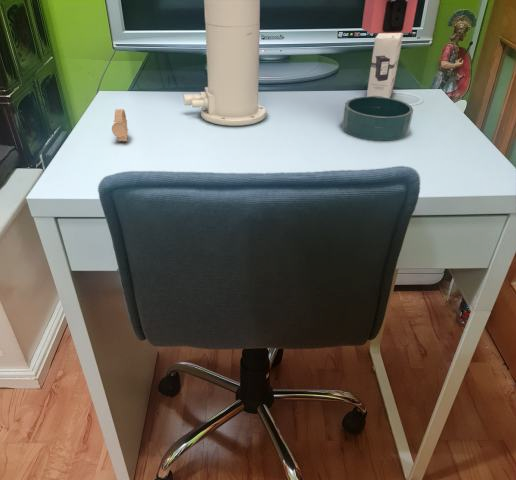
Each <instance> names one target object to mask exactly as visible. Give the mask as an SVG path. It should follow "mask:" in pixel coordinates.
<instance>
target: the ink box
mask: <svg viewBox="0 0 516 480" xmlns="http://www.w3.org/2000/svg"><path fill="white" fill-rule="evenodd" d="M403 37H404V33H377V35H375V37H374V42H373V49H372V56H371V61H370V62H371V63H370V70H369V76H368V84H367V91H366V97H368V96H373V97H385V98H391V96H392V94H393V91H394V86H395V81H396V75H397V70H398V64H399V59H400V54H401V49H402V43H403Z"/></svg>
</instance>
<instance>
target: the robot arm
mask: <svg viewBox="0 0 516 480" xmlns="http://www.w3.org/2000/svg"><path fill="white" fill-rule="evenodd" d="M408 1H409V0H390V1H387V3H386V9H385V16H384V22H383V31H384V32H401V31H402V30H403V26H404V20H405V14H406V9H407V3H408ZM203 5H204V23H205V46H206V50H205V51H206V72H207V86H205V87H204V91H200V92H199V93H197V94H196V93H195V94H194V93H184V94H183V103H184V106H191V108H200V116H201V118H202V119H203V120H205V121H206V122H208V123H211V124H215V125H220V126H230V127H238V126H239V127H240V126H249V125H254V124H257V123H260V122H262V121H263V120H264V119H266V117H267V109H266V108H265V106H263V105H262V104H260V103H259V85H260V84H259V78H260V77H259V76H260V36H261V35H260V32H261V31H260V30H261V29H260V28H261V21H260V20H261V19H260V17H261V0H203Z"/></svg>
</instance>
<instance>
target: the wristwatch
mask: <svg viewBox="0 0 516 480" xmlns="http://www.w3.org/2000/svg"><path fill="white" fill-rule="evenodd" d="M113 122H114V123H113V124H112V126H111V133H112V134H113V135H114V136H115V137H116V140H117V141H118V142H127V141H128V135H129V132H128V131H129V128H128V120H127V115H126V111H125V109H123V108H122V109H118V108H116V109H115V110H114V120H113Z"/></svg>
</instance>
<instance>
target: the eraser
mask: <svg viewBox="0 0 516 480" xmlns="http://www.w3.org/2000/svg"><path fill="white" fill-rule="evenodd" d="M387 1H390V0H365V1H364V9H363V16H362V25H361V29H362V30H364V31H365V32H367V33H369V34H379V33H403V34H411V33H412V32H413V29H414V28H413V26H414V21H415V16H416V12H417V7H418V0H409V1H408V3H407V9H406V14H405V20H404V26H403V30H402V31H401V32H384V31H383V22H384V16H385V9H386V3H387Z"/></svg>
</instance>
